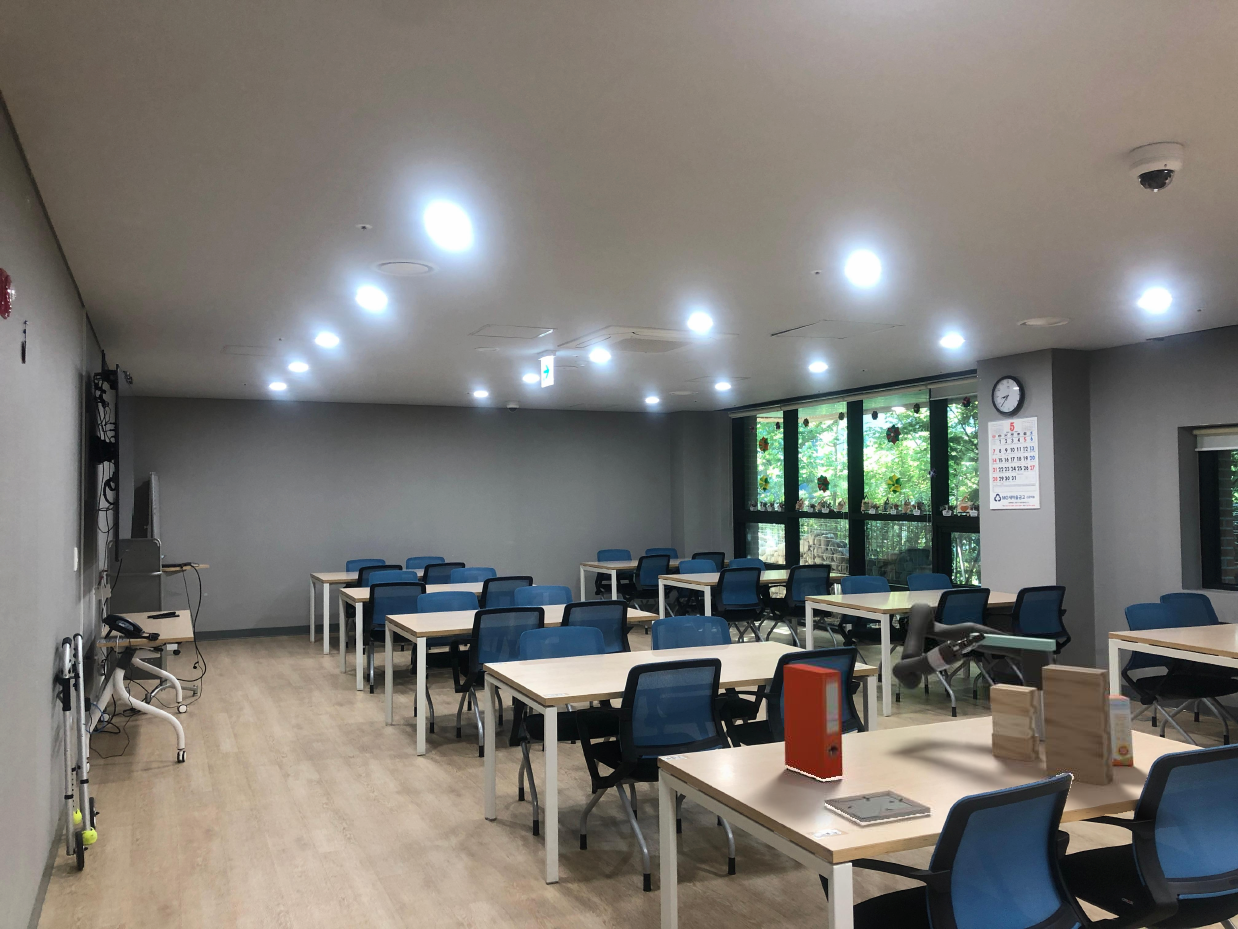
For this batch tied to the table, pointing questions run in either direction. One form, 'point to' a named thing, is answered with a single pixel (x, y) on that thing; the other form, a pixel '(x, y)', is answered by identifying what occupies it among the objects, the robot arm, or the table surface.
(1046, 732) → the wooden moulding block
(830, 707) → the file binder
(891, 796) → the picture frame
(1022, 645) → the batten
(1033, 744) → the block
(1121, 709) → the cracker box
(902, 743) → the table surface
